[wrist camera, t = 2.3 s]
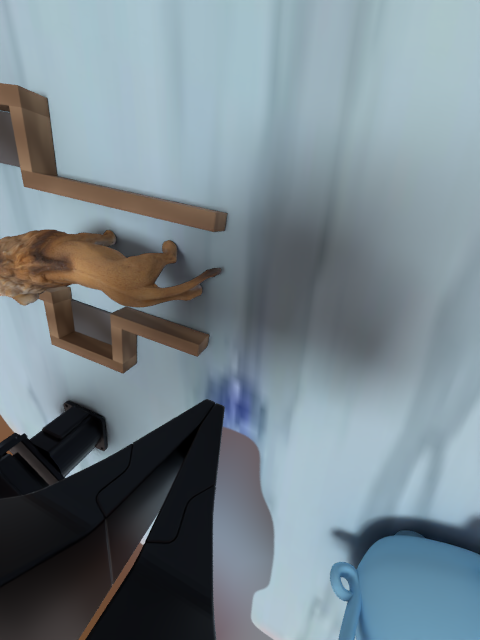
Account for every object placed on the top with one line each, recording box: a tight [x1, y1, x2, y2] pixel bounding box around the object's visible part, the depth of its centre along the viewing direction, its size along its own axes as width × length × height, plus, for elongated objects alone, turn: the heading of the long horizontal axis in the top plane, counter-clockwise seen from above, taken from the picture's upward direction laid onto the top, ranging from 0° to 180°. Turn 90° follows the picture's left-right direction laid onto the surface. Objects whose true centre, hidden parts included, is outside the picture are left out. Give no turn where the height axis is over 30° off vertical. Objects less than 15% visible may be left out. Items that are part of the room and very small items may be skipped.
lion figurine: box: [0, 230, 221, 307], centre depth 17 cm, size 15×5×9 cm, turn 90°
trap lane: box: [0, 83, 227, 373], centre depth 23 cm, size 22×36×2 cm, turn 79°
